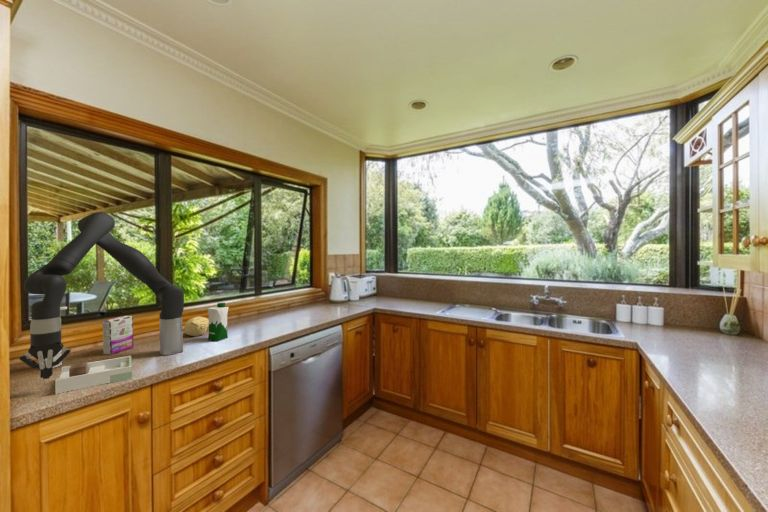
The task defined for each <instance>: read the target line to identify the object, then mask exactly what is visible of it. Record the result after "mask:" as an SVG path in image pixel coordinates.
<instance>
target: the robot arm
mask: <svg viewBox="0 0 768 512" xmlns="http://www.w3.org/2000/svg"><path fill="white" fill-rule="evenodd" d="M115 222H116V221H115V219H114V218H113V217H112V215H110V214H108V213H106V212H104V211H103V212H102V211H96V212H92V213H90V214H88V215H86V216H84V217H82V218H80V219H79V220H78V221H77V229H78V230H79V232H80V233H78V234H77V235H76V236H75V238H73V239H72V240H70V241H69V242H68V243H67V244H66V245H65V246H63V247H62V248H61V249H60V250H59V251H58V252H57V253H56V254H55V255H54V256H53V257H52V258H51V260H50V261H49V262H48V263H45V264H44V265H43V266H41V267H40V268H38V269H36V270H35V271H34V272H32V273H31V274H30V275H29V276H28V277H27V278H26V279H25V281H24V283H23V287H24V291H26V292H27V293H28V294H30V295H44V297H43V299H42V300H39V301H36V302H34V303H32V305H31V307H30V308H31V309H30V310H31V313H30V315H31V316H30V317H31V318H30V327H29V335H30V338H29V340H30V344H29V345H30V346H29V349H28V350H27V352H26V353H24V354H22V355H21V356H19V360H20V361H21V362H23V363H24V364H26V365H27V366H29V367H30V368H31V369H37V370H39V373H40V375H39V376H40V378H41V379H42V380H47V379H50V377H52V376H53V372H54V371H53V369H54V368H53V366H55V365H58V364H59V363H60V362H61V361H62V362H63V360H64V359H65V358H66V357H67V356H68V355H69V354H70V353H71V351H72V349H71V348H67V347H64V344H63V343H62V318H61V310H60V307H61V305H62V302H63V300H64V299H63V298H64V296H65V293H66V291H67V281H66V279H65V278H64V277H63V276H67V275H70V274H71V273H72V272H73V271H74V270H75V269H76V268H77V267H78V265H79V264H80V263H81V261H82V260H83V259H84V258H85V257H86V255H87V254H88V253H89V252H90V251H91V249H93V248H94V246H95V245H97V246H98V247H100V249H102V250H103V251H105V252H106V253H107V254H108V255H109V256H111V257H112V258H113V259H114V260H115V261H116V262H117V263H119V264H120V265H121V266H122V268H124V269H125V270H126V271H127V272H128V273H130V274H131V275H132V276H133V277H135V278H136V279H137V280H138V281H140V282H142V284H144V285H146V286H147V287H148V288H149V289H150V290H151V292H153V294H154V295H155V296H156V297H157V298H158V300H160V301H161V311H160V312H159V354H160V355H163V356H168V355H175V354H178V353H183V351H184V332H183V313H184V310H185V309H184V308H185V307H184V305H185V294H184V289H183V288H181V287H180V286H177V285H174V284H172V283H171V282H170V281H169V280H167V279H166V278H165V277H164V276H162V275H161V274H160V272H159V271H158V269H157V268H156V267H155V265H154V264H153V262H152V261H151V260H150V259H149V258H148V257H147V256H146V255H145V254H144V253H142V252H141V250H139V249H137V248H135V247H134V246H131V245H128V244H126V243H125V242H121V241H120V240H118V239H117V238H116V237H114V236H113V235H112V234H111V233H110V232H111V231H112V230H114V228H115V226H116V225H115V224H116V223H115ZM60 318H61V319H60ZM60 351H62V352H61V356H60V357H59V358H58V359H57V360H56V361H54V362H53V359H54V357H55V356H56V355H57V354H58V353H59V352H60ZM32 357H33V358H35V359H36V360H38V362H37V361H35V360H34V359H32ZM46 358H47V367H46Z"/></svg>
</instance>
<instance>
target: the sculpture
mask: <svg viewBox="0 0 768 512" xmlns="http://www.w3.org/2000/svg"><path fill="white" fill-rule="evenodd" d="M208 329H209V318H207V317H204V316H200V315H199V316H194V317H191V318H190V319H188V320H187V321H186V322H185V324H184V329H183V330H184V333H185V334H186V335H187V336H192V337H199V336H203V335H204V334H206V332H207V330H208Z"/></svg>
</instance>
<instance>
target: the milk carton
mask: <svg viewBox="0 0 768 512" xmlns="http://www.w3.org/2000/svg"><path fill="white" fill-rule="evenodd" d="M229 308H230V307H229V306H227V305H226V302H218V303H217V305H216V306H211V307H207V308H206V309H207V313H208V319H209V326H208V339H207V340H208V341H214V342H219V341H223V340H226V339H228V337H229V336H228V334H229V333H228V313H229ZM225 338H226V339H225Z"/></svg>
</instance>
